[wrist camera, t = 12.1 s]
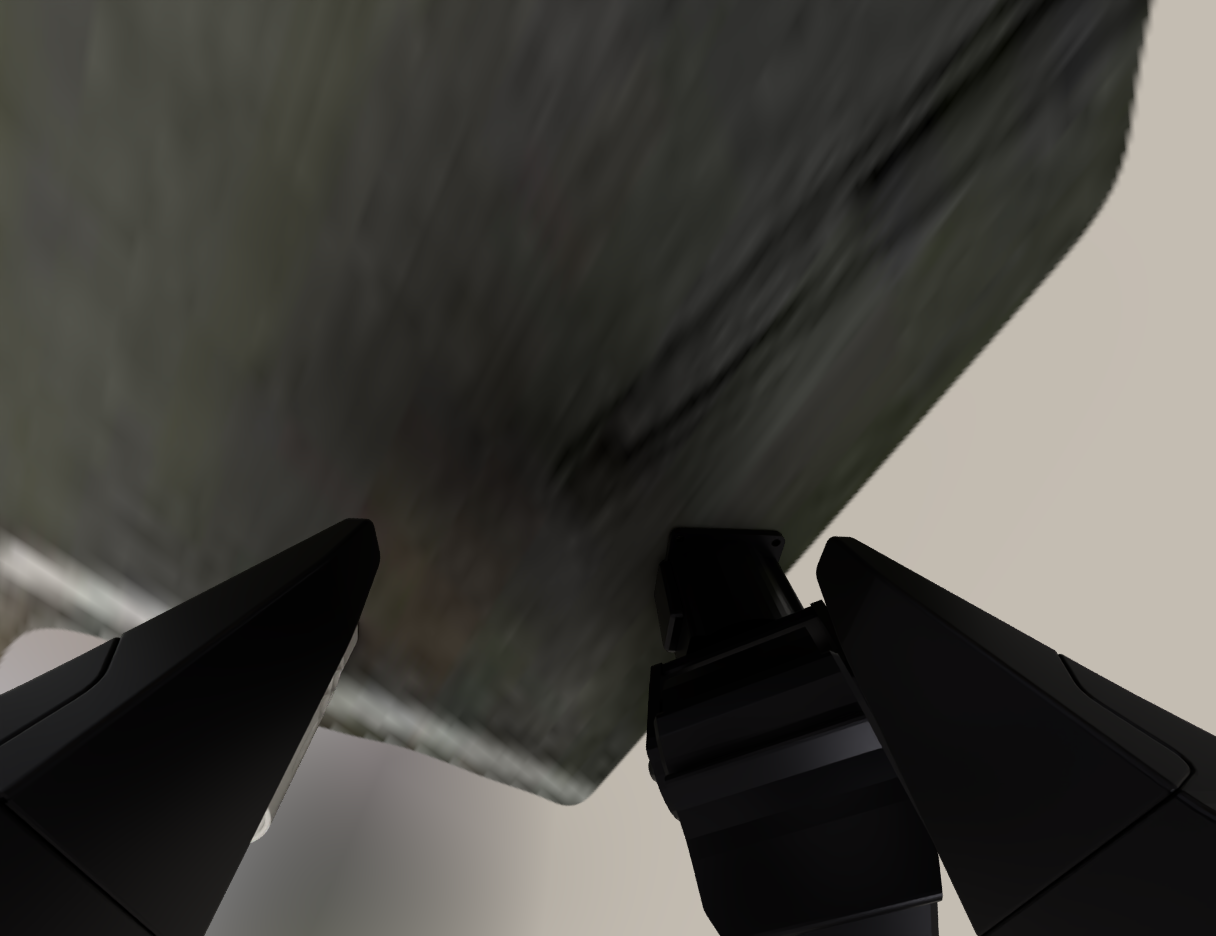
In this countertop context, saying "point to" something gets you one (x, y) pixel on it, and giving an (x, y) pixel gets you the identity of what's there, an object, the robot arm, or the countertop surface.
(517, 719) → the countertop surface
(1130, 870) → the robot arm
